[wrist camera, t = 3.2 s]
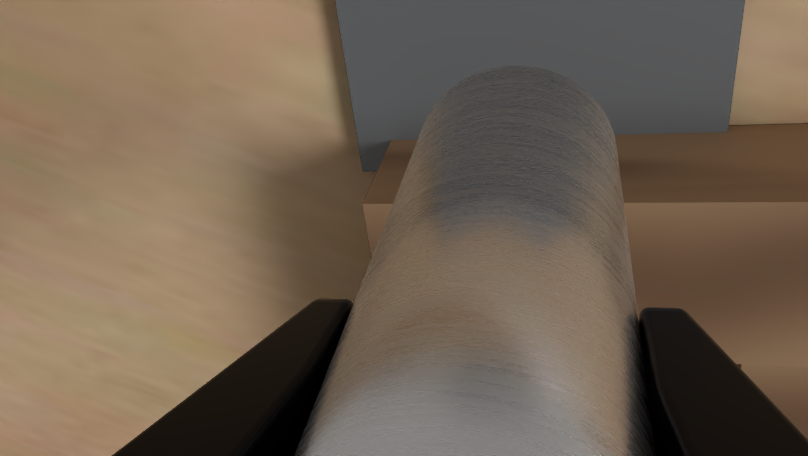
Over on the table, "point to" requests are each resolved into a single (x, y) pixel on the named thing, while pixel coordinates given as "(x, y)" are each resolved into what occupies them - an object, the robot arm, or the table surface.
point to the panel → (542, 58)
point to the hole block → (707, 240)
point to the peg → (496, 290)
